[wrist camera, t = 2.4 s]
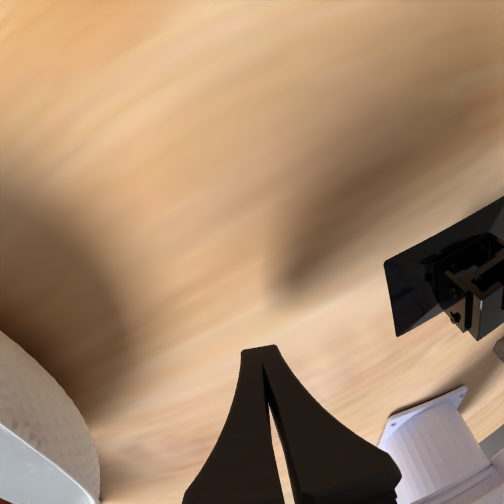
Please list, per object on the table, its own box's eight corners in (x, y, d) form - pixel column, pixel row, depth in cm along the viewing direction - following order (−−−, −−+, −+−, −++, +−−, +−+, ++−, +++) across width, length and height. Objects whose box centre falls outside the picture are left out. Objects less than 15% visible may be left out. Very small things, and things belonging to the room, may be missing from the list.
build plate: (516, 168, 14) (573, 194, 9) (515, 264, 17) (557, 298, 13) (347, 257, 14) (394, 317, 10) (374, 352, 18) (407, 410, 14)
